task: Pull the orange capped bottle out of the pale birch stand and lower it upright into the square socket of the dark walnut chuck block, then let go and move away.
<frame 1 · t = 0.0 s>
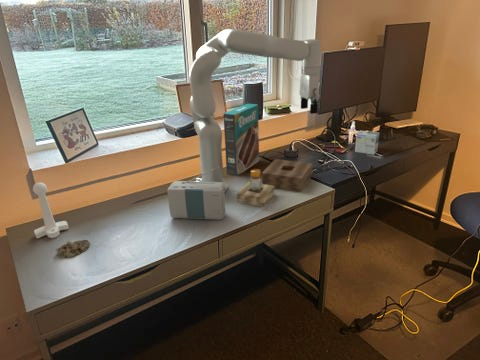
hand: (308, 110, 165), 31 cm above the table, tool pointing down, fingers open, 9 cm apart
light bulb box: (365, 151, 204), on the table
hacksaw: (325, 166, 189), on the table
orange capped bottle: (256, 194, 157), point 1 cm above the table, touching key stand
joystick: (53, 234, 138), on the table
key stand: (256, 197, 158), on the table
stereo radio cassette player: (199, 216, 146), on the table
cake mix box: (243, 167, 190), on the table
chuck block: (287, 181, 172), on the table
mineral rock: (74, 251, 127), on the table
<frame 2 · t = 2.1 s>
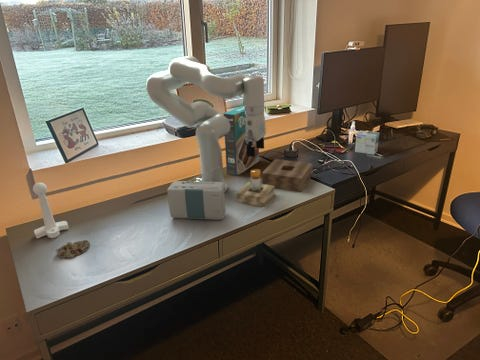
hand: (255, 152, 149), 21 cm above the table, tool pointing down, fingers open, 9 cm apart
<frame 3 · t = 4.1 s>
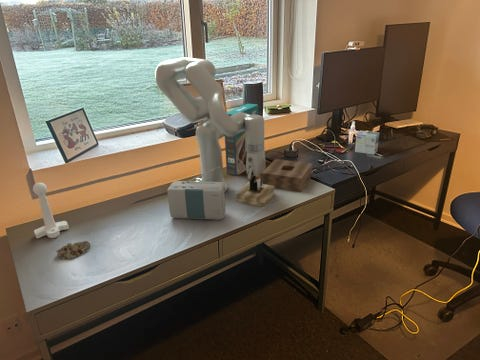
hand: (255, 187, 156), 5 cm above the table, tool pointing down, fingers closed on orange capped bottle, 4 cm apart
orange capped bottle: (256, 194, 157), point 2 cm above the table, touching gripper, key stand
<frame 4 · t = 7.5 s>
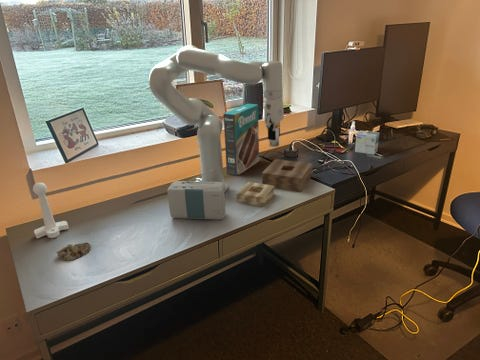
hand: (274, 137, 156), 24 cm above the table, tool pointing down, fingers closed on orange capped bottle, 4 cm apart
orange capped bottle: (274, 145, 157), point 20 cm above the table, touching gripper
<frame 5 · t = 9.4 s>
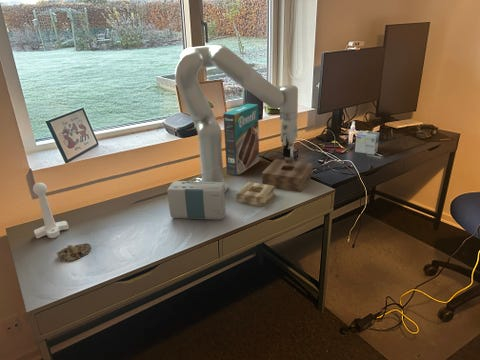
hand: (288, 154, 167), 13 cm above the table, tool pointing down, fingers closed on orange capped bottle, 4 cm apart
orange capped bottle: (288, 161, 168), point 10 cm above the table, touching gripper
when the fingers open (8 cm above the table, at t = 10.8 s): orange capped bottle drops 1 cm, resting on chuck block.
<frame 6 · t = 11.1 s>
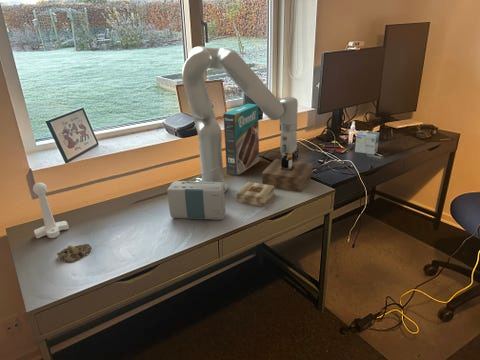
hand: (287, 164, 169), 8 cm above the table, tool pointing down, fingers open, 7 cm apart
orange capped bottle: (287, 175, 171), point 3 cm above the table, touching chuck block
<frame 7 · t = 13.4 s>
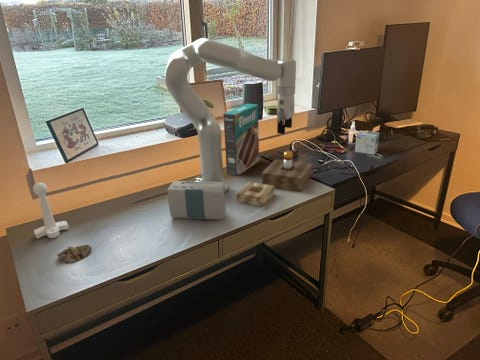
hand: (284, 130, 162), 25 cm above the table, tool pointing down, fingers open, 9 cm apart
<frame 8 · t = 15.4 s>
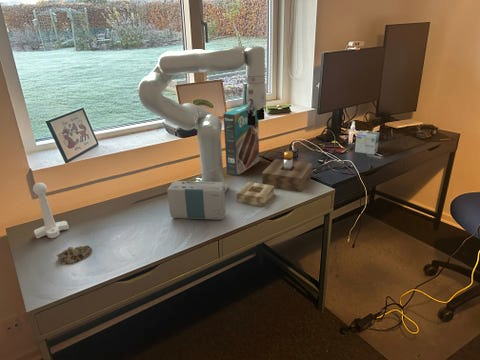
hand: (256, 122, 154), 30 cm above the table, tool pointing down, fingers open, 9 cm apart
at the end: orange capped bottle 0.1 cm off-centre on the chuck block, point 3.0 cm above the chuck block's base; orange capped bottle tilted 1°; the gripper is holding nothing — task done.
